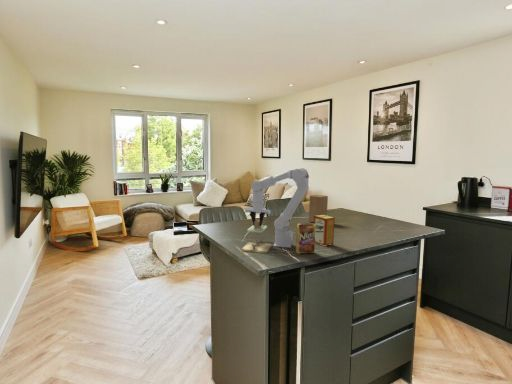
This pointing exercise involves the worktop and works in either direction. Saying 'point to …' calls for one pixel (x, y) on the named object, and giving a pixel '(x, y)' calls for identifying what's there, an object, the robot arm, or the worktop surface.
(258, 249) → the stud board
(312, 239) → the candy box
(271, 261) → the worktop surface
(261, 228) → the keyhole panel
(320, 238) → the baking soda box
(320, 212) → the wooden block
